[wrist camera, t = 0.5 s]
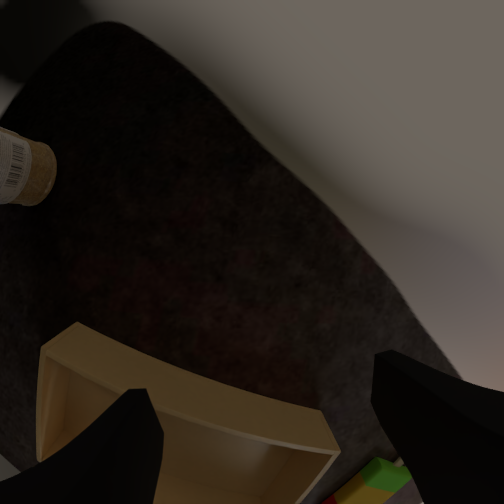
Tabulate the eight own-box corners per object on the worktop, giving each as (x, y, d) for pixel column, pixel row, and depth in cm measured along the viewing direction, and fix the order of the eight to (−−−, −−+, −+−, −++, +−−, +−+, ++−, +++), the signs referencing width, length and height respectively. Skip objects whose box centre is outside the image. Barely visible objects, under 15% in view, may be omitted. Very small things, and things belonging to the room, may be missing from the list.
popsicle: (306, 511, 21) (309, 524, 19) (419, 406, 21) (429, 416, 19) (343, 519, 22) (348, 531, 20) (447, 422, 21) (457, 432, 20)
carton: (262, 496, 21) (268, 536, 16) (61, 427, 19) (36, 460, 14) (321, 410, 20) (341, 451, 15) (77, 321, 18) (40, 346, 13)
